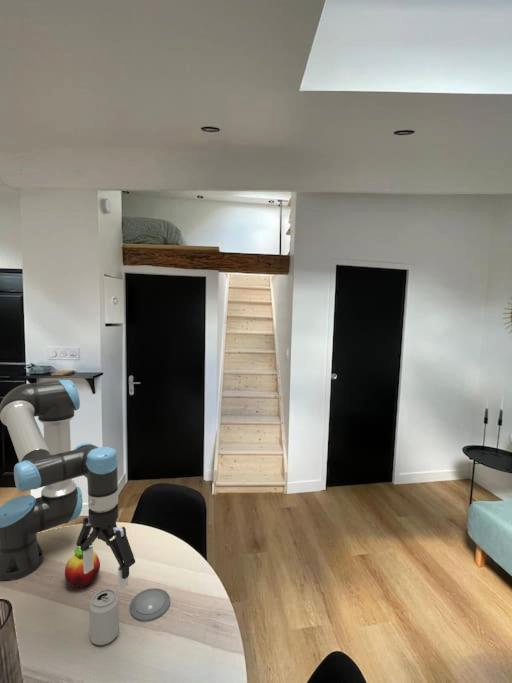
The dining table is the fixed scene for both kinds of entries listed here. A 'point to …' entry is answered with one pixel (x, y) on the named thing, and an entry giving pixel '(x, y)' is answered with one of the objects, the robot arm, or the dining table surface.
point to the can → (104, 616)
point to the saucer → (149, 604)
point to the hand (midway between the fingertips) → (105, 579)
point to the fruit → (80, 570)
